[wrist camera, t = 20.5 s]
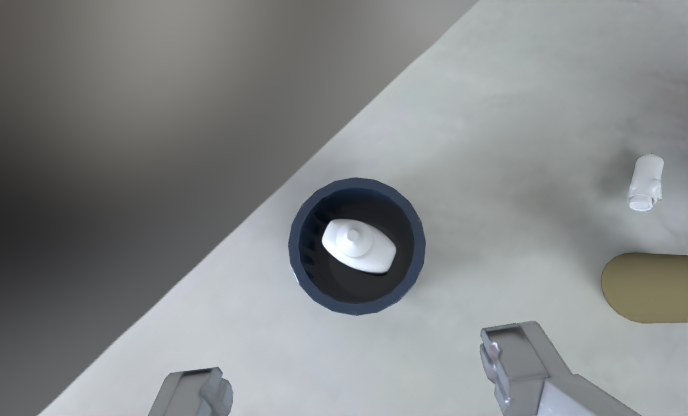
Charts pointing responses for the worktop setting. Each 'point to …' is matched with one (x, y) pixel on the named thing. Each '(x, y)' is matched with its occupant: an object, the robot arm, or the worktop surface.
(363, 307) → the dark blue round pot
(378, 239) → the eye dropper bottle
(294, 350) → the worktop surface
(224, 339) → the worktop surface
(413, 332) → the worktop surface
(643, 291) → the olive pawn
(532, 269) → the worktop surface
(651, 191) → the small white plastic part
